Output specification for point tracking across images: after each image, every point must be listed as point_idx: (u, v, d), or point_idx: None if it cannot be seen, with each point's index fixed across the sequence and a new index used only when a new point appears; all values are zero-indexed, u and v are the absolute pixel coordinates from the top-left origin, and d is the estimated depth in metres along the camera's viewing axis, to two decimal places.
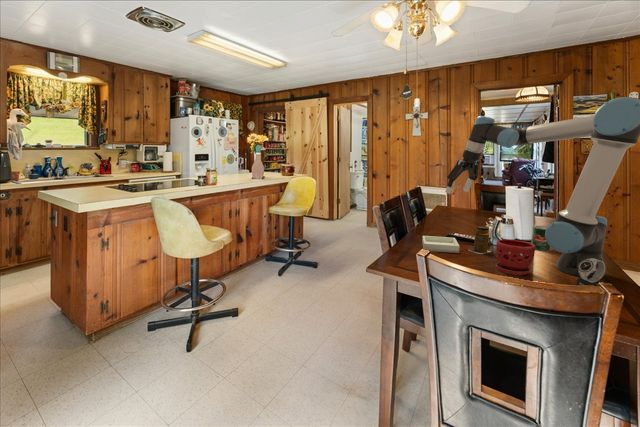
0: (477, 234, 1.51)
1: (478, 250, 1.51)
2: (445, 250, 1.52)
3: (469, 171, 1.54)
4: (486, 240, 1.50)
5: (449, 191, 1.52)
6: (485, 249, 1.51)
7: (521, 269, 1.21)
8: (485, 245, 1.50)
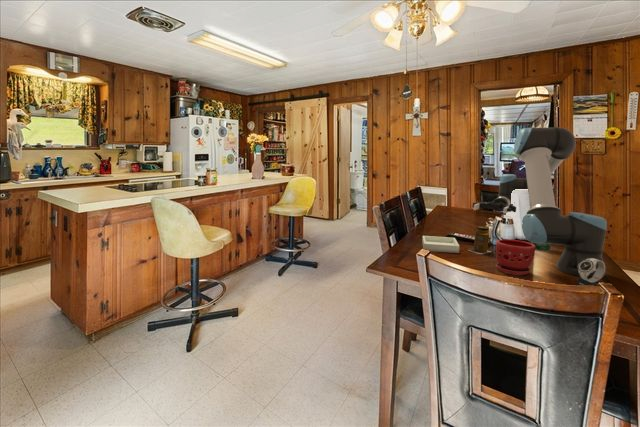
0: (477, 234, 1.51)
1: (478, 250, 1.51)
2: (445, 250, 1.52)
3: (503, 208, 1.62)
4: (486, 240, 1.50)
5: None
6: (485, 249, 1.51)
7: (521, 269, 1.21)
8: (485, 245, 1.50)
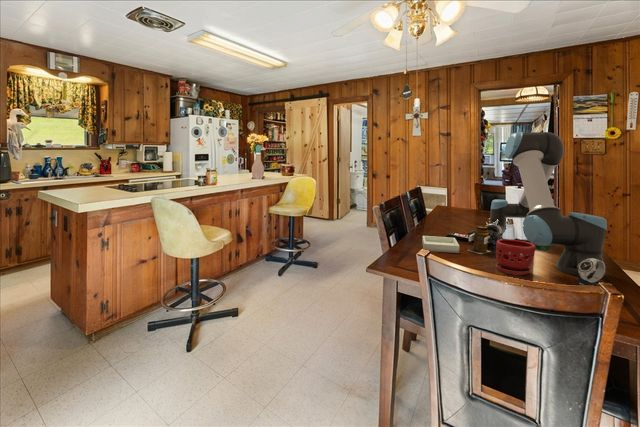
0: (476, 234, 1.51)
1: (477, 250, 1.52)
2: (445, 250, 1.52)
3: None
4: None
5: None
6: (484, 249, 1.51)
7: (521, 269, 1.21)
8: (484, 245, 1.50)
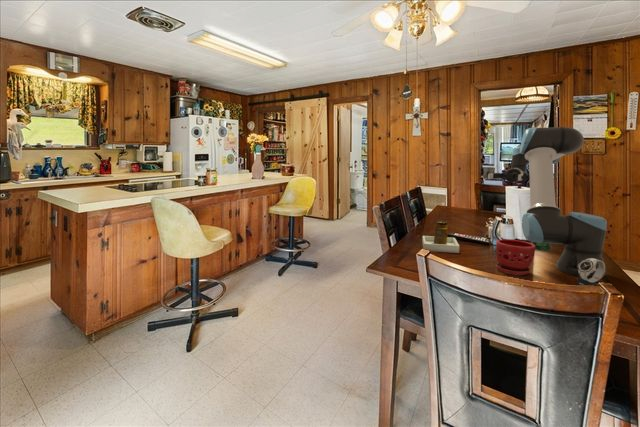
0: (436, 229, 1.58)
1: None
2: (445, 250, 1.52)
3: (517, 177, 1.64)
4: (444, 234, 1.56)
5: None
6: (444, 243, 1.57)
7: (521, 269, 1.21)
8: (443, 239, 1.57)
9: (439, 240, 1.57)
